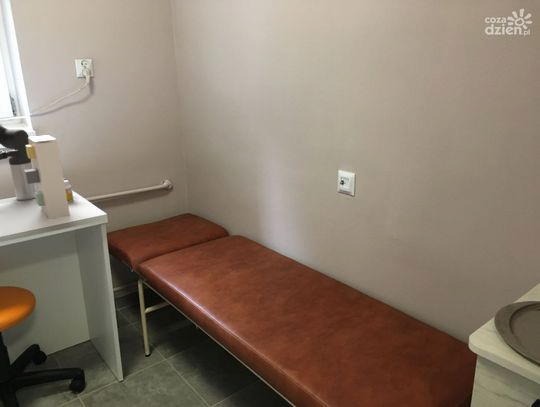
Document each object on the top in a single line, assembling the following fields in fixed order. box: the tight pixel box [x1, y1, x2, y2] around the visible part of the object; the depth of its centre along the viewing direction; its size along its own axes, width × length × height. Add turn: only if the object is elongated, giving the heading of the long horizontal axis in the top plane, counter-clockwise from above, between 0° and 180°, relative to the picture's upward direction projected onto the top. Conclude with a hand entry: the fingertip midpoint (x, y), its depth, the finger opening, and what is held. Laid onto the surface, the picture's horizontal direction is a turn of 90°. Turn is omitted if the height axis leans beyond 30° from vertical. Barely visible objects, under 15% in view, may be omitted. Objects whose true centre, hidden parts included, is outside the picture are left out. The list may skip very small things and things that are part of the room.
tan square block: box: [26, 145, 36, 160], centre depth 180 cm, size 6×6×5 cm
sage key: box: [35, 190, 45, 207], centre depth 186 cm, size 6×6×5 cm
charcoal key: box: [24, 167, 40, 184], centre depth 182 cm, size 6×6×5 cm
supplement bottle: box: [64, 180, 74, 203], centre depth 204 cm, size 5×5×10 cm
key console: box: [28, 135, 71, 220], centre depth 185 cm, size 18×8×32 cm, turn 36°
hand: (18, 152), depth 176 cm, fingers closed
